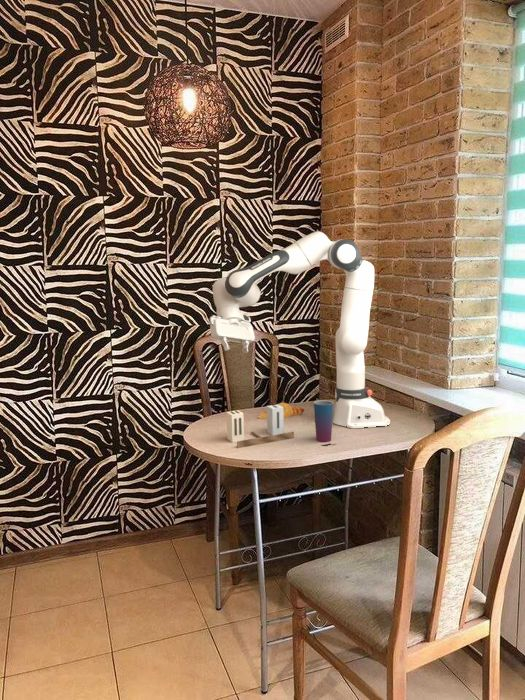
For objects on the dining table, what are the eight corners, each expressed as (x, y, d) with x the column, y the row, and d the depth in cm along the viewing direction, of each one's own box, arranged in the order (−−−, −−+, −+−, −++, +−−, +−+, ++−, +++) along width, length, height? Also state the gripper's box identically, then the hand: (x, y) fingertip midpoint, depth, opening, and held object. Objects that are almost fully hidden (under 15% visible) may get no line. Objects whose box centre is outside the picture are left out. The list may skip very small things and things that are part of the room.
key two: (238, 437, 202) (238, 409, 200) (244, 440, 198) (243, 412, 196) (227, 439, 200) (226, 411, 198) (232, 442, 196) (231, 414, 194)
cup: (333, 440, 200) (333, 400, 198) (333, 447, 193) (333, 404, 191) (314, 440, 201) (313, 400, 198) (313, 446, 194) (313, 404, 192)
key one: (277, 430, 209) (277, 404, 207) (283, 433, 205) (283, 406, 203) (267, 432, 207) (266, 405, 205) (273, 435, 203) (272, 408, 201)
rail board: (278, 432, 211) (278, 423, 210) (294, 441, 200) (293, 432, 199) (224, 442, 201) (224, 432, 200) (237, 452, 190) (237, 441, 190)
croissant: (261, 432, 224) (264, 417, 219) (251, 415, 231) (254, 400, 227) (306, 423, 233) (311, 409, 228) (296, 407, 240) (300, 393, 236)
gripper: (214, 310, 204) (221, 345, 200) (253, 318, 219) (261, 350, 215) (203, 317, 208) (210, 352, 204) (242, 324, 223) (249, 356, 218)
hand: (236, 351), depth 209 cm, fingers open, 8 cm apart
